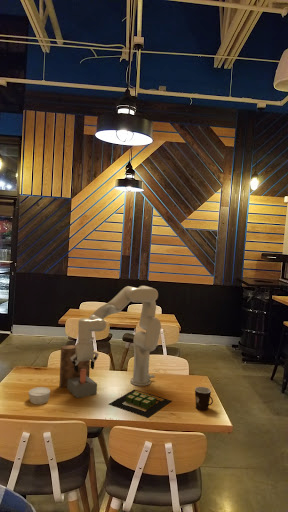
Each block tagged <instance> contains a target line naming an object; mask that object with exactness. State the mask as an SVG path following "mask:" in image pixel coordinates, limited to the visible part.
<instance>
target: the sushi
mask: <svg viewBox="0 0 288 512" xmlns="http://www.w3.org/2000/svg"><path fill="white" fill-rule="evenodd" d="M171 402H172V400H170V399H168V398H164V397H161V396H157V395H154V394H151V393H149V392H144V391H142V390H138V389H133V390H131V391H129V392H127V393H125V394H124V395H122V396H120V397H118V398H116V399H115V400H113V401H110V402H109V403H108V405H109V406H112V407H114V408H118V409H120V410H124V411H126V412H130V413H133V414H135V415H139V416H141V417H143V418H147V419H149V418H150V417H152V416H154V414H156V413H157V412H159V411H160V410H162V409H163V408H165V407H166V406H168V404H170V403H171ZM126 403H127V404H126ZM128 404H130V405H133V406H130V405H128ZM134 406H136V407H138V408H136V407H134ZM140 408H142V409H146V410H142V409H140Z"/></svg>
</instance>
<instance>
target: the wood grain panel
mask: <svg viewBox="0 0 288 512" xmlns="http://www.w3.org/2000/svg"><path fill="white" fill-rule="evenodd" d="M75 349H76V344H71V345H69V344H68V345H62V346H60V359H59V360H60V361H59V385H58V386H59V388H61V389H63V388H67V386H68V379H69V378H75V377H80V370H81V369H86V376H88V377H89V378H90V369H91V368H90V363H91V360H87V361H81V362H79V363H78V364H77V365H78V372H76V371H75V370H74V364H73V363H72V362H71V360H70V357H72V356H73V355H75ZM73 360H74V361H75V360H76V359H75V358H74V359H73Z"/></svg>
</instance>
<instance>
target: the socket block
mask: <svg viewBox="0 0 288 512" xmlns="http://www.w3.org/2000/svg"><path fill="white" fill-rule="evenodd" d="M66 388H67V391H69V392H70V393H71V394H72V395H73V396H74V397H75V398H76V399H78V398H85V397H88V396H89V397H90V396H94V395H97V393H98V389H97V388H98V383H97V382H95V380H93V379H92V378H90V376H89V377H88V376H86V383H83V384H80V377H75V378H69V379H68V386H67V387H66Z"/></svg>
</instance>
